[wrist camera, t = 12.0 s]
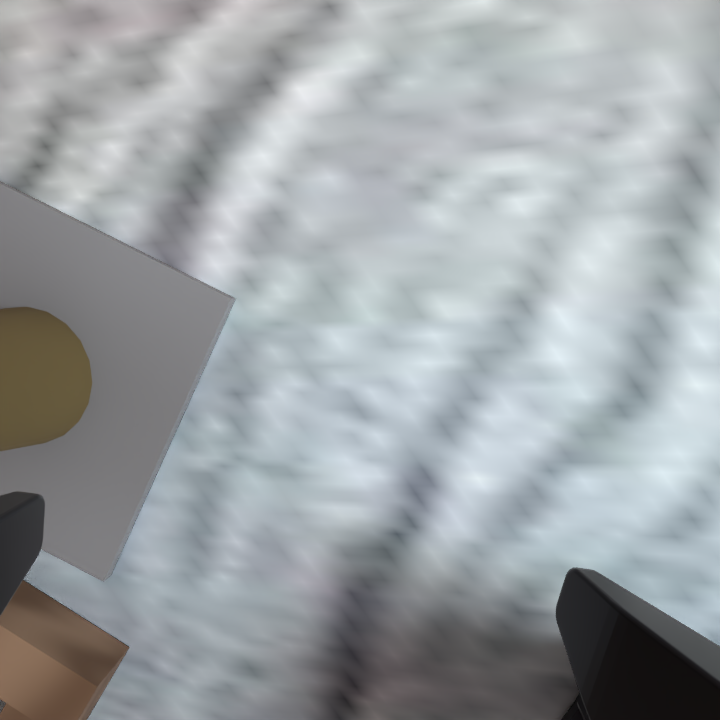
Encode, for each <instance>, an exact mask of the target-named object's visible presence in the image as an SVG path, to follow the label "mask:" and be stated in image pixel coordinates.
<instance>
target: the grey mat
mask: <svg viewBox="0 0 720 720" xmlns="http://www.w3.org/2000/svg"><path fill="white" fill-rule="evenodd" d="M234 302H235V298H233V297H231V296H229V295H227V294H225V293H223V292H221V291H219V290H217V289H215V288H213V287H211V286H209V285H207V284H205V283H203V282H201V281H199V280H197V279H195V278H193V277H191V276H189V275H187V274H185V273H183V272H181V271H179V270H177V269H175V268H173V267H171V266H169V265H167V264H165V263H163V262H161V261H159V260H157V259H155V258H153V257H151V256H149V255H147V254H145V253H143V252H141V251H139V250H137V249H135V248H133V247H131V246H129V245H127V244H125V243H123V242H121V241H119V240H117V239H115V238H113V237H111V236H109V235H107V234H105V233H103V232H101V231H99V230H97V229H95V228H93V227H91V226H89V225H87V224H85V223H83V222H81V221H79V220H77V219H75V218H73V217H71V216H69V215H67V214H65V213H63V212H61V211H59V210H57V209H55V208H53V207H51V206H49V205H47V204H45V203H43V202H41V201H39V200H37V199H35V198H33V197H31V196H29V195H27V194H25V193H23V192H21V191H19V190H17V189H15V188H13V187H11V186H9V185H7V184H5V183H3V182H1V181H0V309H4V308H15V307H31V308H35V309H38V310H42V311H46V312H49V313H50V314H52V315H53V316H55V317H56V318H58V319H60V320H61V321H63V322H64V323H66V324H67V325H68V326H69V328H70V329H71V330H72V331H73V332H74V333H75V335H76V336H77V337H78V338H79V339H80V340H81V343H82V345H83V347H84V349H85V352H86V354H87V356H88V358H89V361H90V368H91V376H92V388H91V393H90V399H89V404H88V406H87V408H86V409H85V411H84V413H83V415H82V417H81V419H80V420H79V422H78V423H77V424H76V425H75V426H74V427H72V428H71V429H70V430H69V431H68V432H67V433H66V434H65V435H63V436H61V437H59V438H56V439H54V440H51V441H49V442H46V443H43V444H37V445H32V446H27V447H21V448H16V449H11V450H5V451H0V496H1V495H4V494H8V493H11V492H15V491H21V492H28V493H35V494H40V495H42V496H43V498H44V500H45V517H44V534H43V543H42V547H41V549H42V550H44V551H46V552H48V553H50V554H52V555H54V556H56V557H57V558H59V559H61V560H63V561H65V562H67V563H69V564H71V565H73V566H75V567H77V568H78V569H80V570H82V571H84V572H86V573H88V574H90V575H92V576H94V577H96V578H98V579H100V580H101V581H103V582H104V581H105V580H106V579H107V578H108V577H109V576H110V575H111V574H112V572H113V570H114V568H115V565H116V563H117V561H118V559H119V557H120V554H121V552H122V550H123V548H124V546H125V543H126V541H127V539H128V537H129V534H130V532H131V530H132V528H133V526H134V523H135V521H136V519H137V517H138V514H139V512H140V510H141V508H142V506H143V503H144V501H145V499H146V497H147V495H148V492H149V490H150V488H151V486H152V483H153V481H154V479H155V477H156V475H157V472H158V470H159V468H160V466H161V463H162V461H163V459H164V457H165V455H166V452H167V450H168V448H169V446H170V444H171V441H172V439H173V437H174V435H175V432H176V430H177V428H178V426H179V424H180V421H181V419H182V417H183V415H184V412H185V410H186V408H187V406H188V404H189V401H190V399H191V397H192V395H193V393H194V390H195V388H196V386H197V384H198V381H199V379H200V377H201V375H202V373H203V370H204V368H205V366H206V364H207V361H208V359H209V357H210V355H211V353H212V350H213V348H214V346H215V344H216V342H217V339H218V337H219V335H220V333H221V330H222V328H223V326H224V324H225V322H226V319H227V317H228V315H229V313H230V310H231V308H232V306H233V304H234Z"/></svg>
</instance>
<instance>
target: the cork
mask: <svg viewBox="0 0 720 720" xmlns="http://www.w3.org/2000/svg"><path fill="white" fill-rule="evenodd" d="M91 388H92V376H91V368H90V361H89V358H88V356H87V354H86V352H85V349H84V347H83V345H82V343H81V340H80V339H79V338H78V337H77V336H76V335H75V333H74V332H73V331H72V330H71V329H70V328H69V326H68V325H67V324H66V323H64V322H63V321H61V320H60V319H58V318H56V317H55V316H53V315H52V314H50V313H49V312H46V311H42V310H38V309H35V308H31V307H15V308H4V309H0V451H5V450H11V449H16V448H21V447H27V446H32V445H37V444H43V443H46V442H49V441H51V440H54V439H56V438H59V437H61V436H63V435H65V434H66V433H67V432H68V431H69V430H70V429H71V428H72V427H74V426H75V425H76V424H77V423H78V422H79V420H80V419H81V417H82V415H83V413H84V411H85V409H86V408H87V406H88V404H89V399H90V393H91Z"/></svg>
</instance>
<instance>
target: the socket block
mask: <svg viewBox="0 0 720 720" xmlns="http://www.w3.org/2000/svg"><path fill="white" fill-rule="evenodd" d="M128 649H129V647H128V646H127V645H125V644H123V643H122V642H120V641H119V640H117V639H116V638H114V637H112V636H111V635H109V634H108V633H106V632H104V631H103V630H101V629H100V628H98V627H97V626H95V625H93V624H92V623H90V622H89V621H87V620H85V619H84V618H82V617H81V616H79V615H78V614H76V613H74V612H73V611H71V610H70V609H68V608H66V607H65V606H63V605H62V604H60V603H59V602H57V601H55V600H54V599H52V598H51V597H49V596H47V595H46V594H44V593H43V592H41V591H40V590H38V589H36V588H35V587H33V586H32V585H30V584H29V583H27V582H25V581H24V580H23V581H22V582H21V584H20V585H19V587H18V589H17V590H16V592H15V594H14V595H13V597H12V598H11V600H10V602H9V603H8V605H7V606H6V608H5V610H4V611H3V613H2V614H1V616H0V699H1V700H2V701H4V702H5V703H6V704H5V706H4V708H3V710H2V712H1V713H0V720H87V719H88V717H89V715H90V713H91V712H92V710H93V708H94V707H95V705H96V703H97V702H98V700H99V698H100V696H101V695H102V693H103V691H104V690H105V688H106V686H107V685H108V683H109V681H110V680H111V678H112V676H113V674H114V673H115V671H116V669H117V668H118V666H119V664H120V663H121V661H122V659H123V657H124V656H125V654H126V652H127V651H128Z"/></svg>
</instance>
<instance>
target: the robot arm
mask: <svg viewBox="0 0 720 720" xmlns="http://www.w3.org/2000/svg"><path fill="white" fill-rule="evenodd" d="M44 517H45V500H44V498H43V496H42V495H40V494H35V493H28V492H21V491H15V492H11V493H8V494H4V495H1V496H0V616H1V614H2V613H3V611H4V610H5V608H6V606H7V605H8V603H9V602H10V600H11V598H12V597H13V595H14V594H15V592H16V590H17V589H18V587H19V585H20V584H21V582H22V581H23V579H24V577H25V576H26V574H27V573H28V571H29V569H30V568H31V566H32V565H33V563H34V561H35V560H36V558H37V556H38V555H39V552H40V550H41V547H42V543H43V534H44ZM556 620H557V624H558V627H559V630H560V633H561V636H562V639H563V642H564V646H565V649H566V652H567V655H568V658H569V661H570V664H571V667H572V670H573V673H574V676H575V679H576V683H577V686H578V689H579V692H580V694H579V695H578V697H577V700H576V701H575V702H574V704H573V705H572V706H571V708H570V709H569V710H568V712H567V713H566V714H565V716H564V717H563V718H562V720H720V646H719V645H717V644H715V643H714V642H712V641H710V640H709V639H707V638H705V637H704V636H702V635H700V634H699V633H697V632H695V631H694V630H692V629H690V628H689V627H687V626H686V625H684V624H682V623H681V622H679V621H677V620H676V619H674V618H672V617H671V616H669V615H667V614H666V613H664V612H662V611H661V610H659V609H657V608H656V607H654V606H653V605H651V604H649V603H648V602H646V601H644V600H643V599H641V598H639V597H638V596H636V595H634V594H633V593H631V592H629V591H628V590H626V589H624V588H623V587H621V586H620V585H618V584H616V583H615V582H613V581H611V580H610V579H608V578H606V577H605V576H603V575H601V574H600V573H598V572H596V571H594V570H590V569H583V568H572V569H570V570H569V571H568V572H567V574H566V577H565V580H564V583H563V586H562V590H561V593H560V596H559V599H558V602H557V606H556Z"/></svg>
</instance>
